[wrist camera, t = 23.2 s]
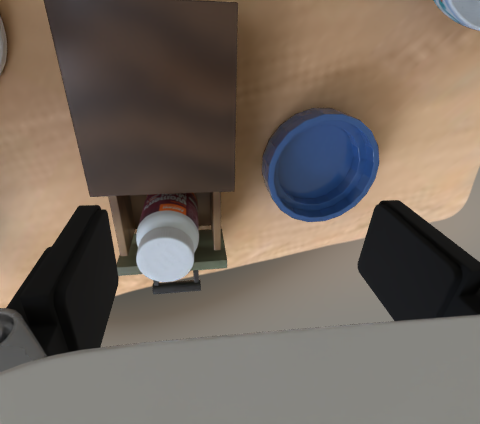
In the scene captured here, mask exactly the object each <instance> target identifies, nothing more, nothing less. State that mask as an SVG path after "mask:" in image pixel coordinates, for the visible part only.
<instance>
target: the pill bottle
mask: <svg viewBox="0 0 480 424" xmlns="http://www.w3.org/2000/svg"><path fill="white" fill-rule="evenodd" d="M136 242H137V246H138V251H137V256H136V262H137V266H138V268H139V270H140V271H141V272H142V273H143V274H144V275H145V276H146V277H148V278H150V279H152V280H155V281H159V282H172V281H176V280H178V279H181V278H182V277H184V276H185V275H187V274H188V273H189V271H190V270H191V269H192V266H193V264H194V252H195V251H196V249H197V246H198V242H199V225H198V204H197V199H196V196H195V194H194V193H178V194H152V195H147V197H146V200H145V203H144V207H143V210H142V214H141V218H140V222H139V225H138V228H137V233H136Z"/></svg>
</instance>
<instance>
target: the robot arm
mask: <svg viewBox="0 0 480 424" xmlns="http://www.w3.org/2000/svg"><path fill="white" fill-rule="evenodd" d="M6 56H7V39H6V33H5V29H4V25H3V21H2V19H1V17H0V75H1V73H2V71H3V68H4V66H5V63H6ZM358 270H359V272H360V274H361V275H362V277H363V278H364V279H365V281H366V282H367V284H368V285H369V286H370V288H371V289H372V291H373V292H374V293H375V295H376V296H377V297H378V299H379V300H380V301H381V303H382V304H383V306H384V307H385V308H386V310H387V311H388V312H389V314H390V315H391V317H392V318H393V319H394V321H391V322H378V323H364V324H352V325H340V326H328V327H315V328H304V329H291V330H279V331H268V332H257V333H245V334H234V335H222V336H212V337H200V338H188V339H177V340H166V341H155V342H144V343H133V344H126V345H117V346H109V347H102V348H100V346H101V343H102V339H103V336H104V332H105V329H106V325H107V321H108V318H109V315H110V311H111V308H112V304H113V301H114V297H115V294H116V290H117V287H118V271H117V265H116V259H115V253H114V248H113V242H112V236H111V230H110V225H109V219H108V213H107V211H106V210H101V208H100V206H99V205H90V206H79V207H78V208H77V209H76V211H75V212H74V214H73V215H72V217H71V218H70V220H69V222H68V223H67V225H66V226H65V228H64V229H63V231H62V232H61V234H60V235H59V237H58V238H57V240H56V241H55V243H54V244H53V246H52V247H49V248H47V249H46V250H45V251H44V253H43V254H42V256H41V257H40V259H39V260H38V262H37V263H36V265H35V266H34V268H33V269H32V271H31V272H30V274H29V275H28V277H27V278H26V280H25V281H24V282H23V284H22V285H21V287H20V288H19V290H18V291H17V293H16V294H15V296H14V297H13V299H12V300H11V302H10V303H9V305H8V306H7V308H0V424H480V262H479V261H477V260H476V259H475V258H473V257H472V256H471V255H469V254H468V253H467V252H466V251H464V250H463V249H462V248H460V247H459V246H458V245H457V244H455V243H454V242H453V241H451V240H450V239H449V238H447V237H446V236H445V235H443V234H442V233H441V232H440V231H438V230H437V229H435V228H434V227H433V226H432V225H431V224H429V223H428V222H427V221H425V220H424V219H423V218H421V217H420V216H419V215H418V214H416V213H415V212H414V211H412V210H411V209H410V208H408V207H407V206H406V205H405V204H403V203H402V202H401V201H399V200H391V201H381V202H380V203H379V205H376V207H375V208H374V212H373V215H372V218H371V221H370V225H369V228H368V231H367V235H366V238H365V241H364V245H363V248H362V251H361V254H360V258H359V261H358Z"/></svg>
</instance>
